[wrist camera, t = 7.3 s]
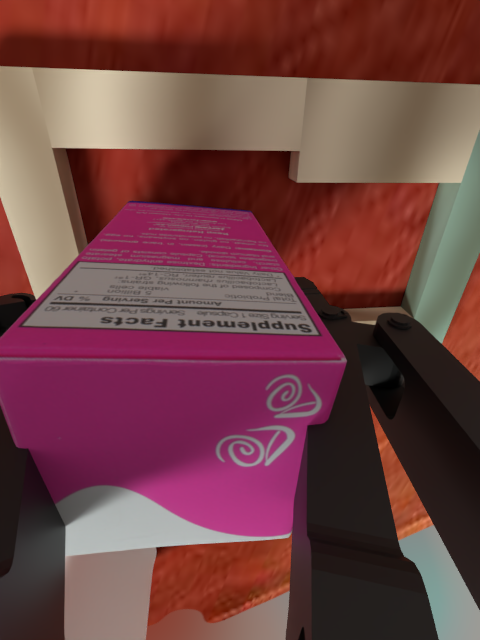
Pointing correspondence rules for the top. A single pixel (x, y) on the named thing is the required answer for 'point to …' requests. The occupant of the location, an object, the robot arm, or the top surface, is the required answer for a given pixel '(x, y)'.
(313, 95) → the cream and green frame
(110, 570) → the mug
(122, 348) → the supplement box
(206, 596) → the top surface
